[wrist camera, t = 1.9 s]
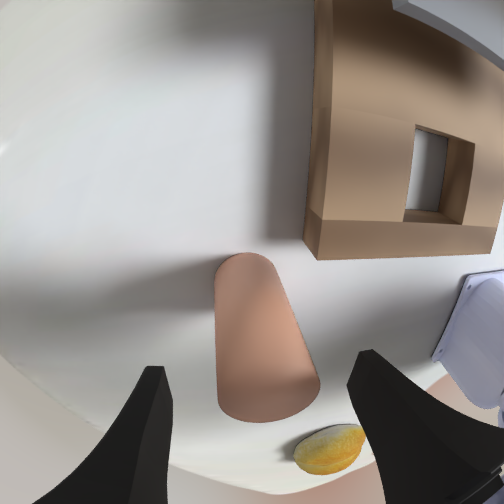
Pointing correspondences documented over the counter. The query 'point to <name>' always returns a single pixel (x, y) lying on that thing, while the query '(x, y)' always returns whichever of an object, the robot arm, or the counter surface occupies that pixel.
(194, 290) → the counter surface
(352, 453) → the bread roll
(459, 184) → the socket station
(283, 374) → the peg
